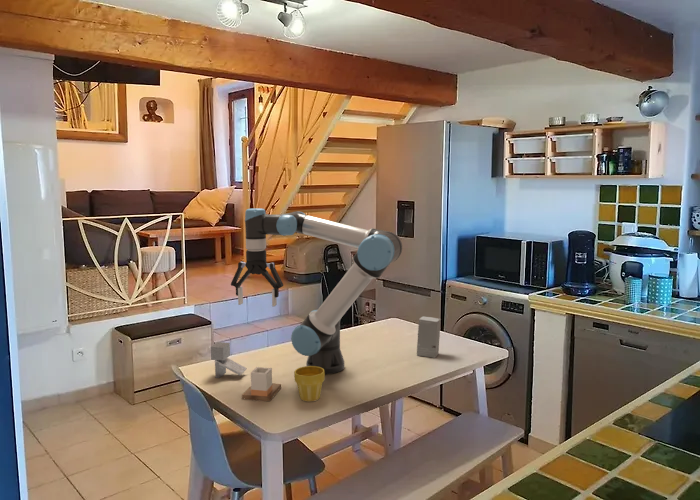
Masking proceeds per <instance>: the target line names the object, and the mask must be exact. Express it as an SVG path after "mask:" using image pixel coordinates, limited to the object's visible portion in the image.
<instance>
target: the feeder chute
mask: <svg viewBox="0 0 700 500" xmlns="http://www.w3.org/2000/svg"><path fill="white" fill-rule="evenodd" d="M230 345H231V343H230V342H221V341H217V342H215V343H214V344H212V345H211V346H210V360H212V361H214V374H215V376H214V377H215V379H220V378H221V377H223V376H224V375H225V374H226V373H227V370H228V371H231V372H232V373H234V374H236V375H238V376H241V375H242V374H243V373H245V372H246V371H247V367H245V366H243V365H241V364H239V363H238V362H236V361H234V360H233V359H230V358H229V357H230V356H231V346H230Z"/></svg>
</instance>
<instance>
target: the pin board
mask: <svg viewBox="0 0 700 500" xmlns="http://www.w3.org/2000/svg"><path fill="white" fill-rule="evenodd" d="M281 389H282V384H281V383H276V382H275V383H273V382H272V391H271V392H270V393H269V394H268V396H255V395H251V385H250V386H249V387H248V388H247V389H246V390H245V391H244V392H243V393H242V394H241V399H242V400H249V401H250V400H252V401H259V402H260V401H264V402H271V401H272V399H273V398H274V397H275V396H276V395H277V394H278V392H279V391H280V390H281Z"/></svg>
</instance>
